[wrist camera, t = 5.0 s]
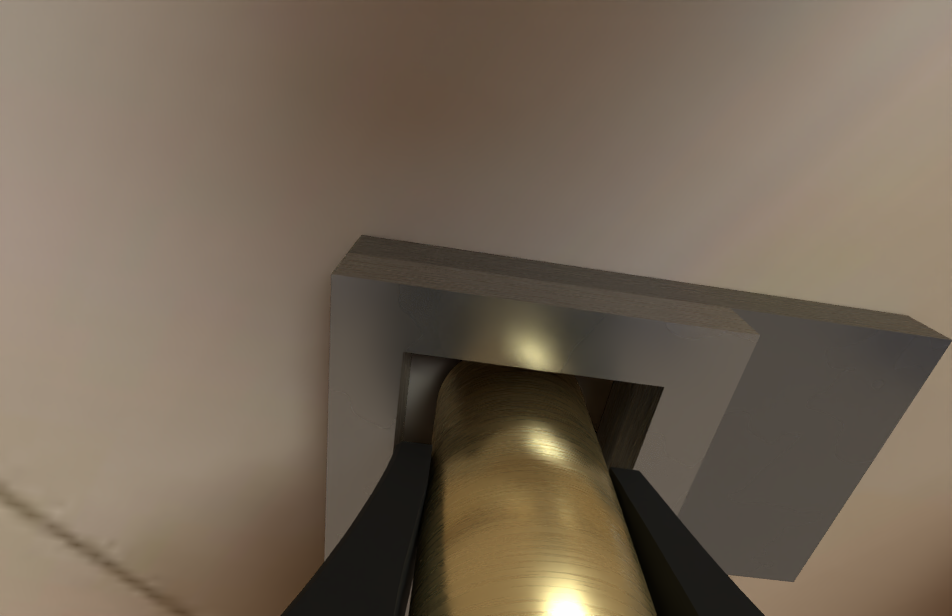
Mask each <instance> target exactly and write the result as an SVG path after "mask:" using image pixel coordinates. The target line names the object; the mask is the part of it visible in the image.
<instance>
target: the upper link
mask: <svg viewBox="0 0 952 616" xmlns="http://www.w3.org/2000/svg"><path fill="white" fill-rule="evenodd" d="M759 337H760V335H759V334H758V333H757V332H756V331H755V330H754V329H753V328H752V327H751V326H750V325H748V324H747V323H746V322H745V321H744V320H743V319H742V318H741V317H740V316H739V315H737V314H736V313H735V312H734V311H733V310H732V309H731V308H727V307H720V306H713V305H706V304H699V303H693V302H686V301H679V300H672V299H665V298H658V297H651V296H644V295H637V294H631V293H624V292H617V291H610V290H603V289H596V288H589V287H582V286H576V285H569V284H562V283H555V282H548V281H541V280H534V279H527V278H520V277H514V276H507V275H500V274H493V273H486V272H479V271H472V270H465V269H458V268H452V267H445V266H438V265H431V264H424V263H417V262H410V261H403V260H396V259H390V258H383V257H376V256H369V255H362V254H355V253H347V255H346V256H345V257H344V259H343V260H342V261H341V263H340V264H339V265H338V266H337V268H336V269H335V270H334V272H333V273H332V274H331V314H330V354H329V394H328V435H327V475H326V516H325V556H324V562H325V560H326V559H327V557H328V556H329V555H330V553H331V552H332V551H333V549H334V548H335V547H336V545H337V544H338V543H339V541H340V540H341V539H342V537H343V536H344V534H345V533H346V532H347V530H348V529H349V527H350V526H351V524H352V523H353V521H354V520H355V518H356V517H357V515H358V514H359V512H360V511H361V509H362V508H363V506H364V505H365V503H366V501H367V500H368V498H369V497H370V495H371V494H372V492H373V490H374V489H375V487H376V485H377V483H378V482H379V480H380V478H381V477H382V475H383V473H384V471H385V469H386V467H387V465H388V463H389V461H390V459H391V457H392V455H393V452H394V450H395V447H396V445H397V444H399V434H400V425H401V415H402V406H403V396H404V387H405V377H406V368H407V358H408V353H415V354H423V355H430V356H437V357H445V358H452V359H460V360H467V361H475V362H482V363H489V364H497V365H504V366H512V367H519V368H527V369H534V370H541V371H549V372H556V373H564V374H571V375H579V376H586V377H593V378H601V379H608V380H616V381H623V382H631V383H636V385H635V388H634V391H633V394H632V397H631V399H630V402H629V405H628V408H627V411H626V414H625V416H624V419H623V422H622V425H621V428H620V431H619V434H618V436H617V439H616V442H615V445H614V448H613V451H612V453H611V456H610V459H609V462H608V465H607V469H608V471H609V468H610V467H615V468H623V469H631V470H639V471H640V472H641V473H642V475H643V476H644V477H645V478H646V479H647V480H648V482H649V483H650V484H651V485H652V486H653V488H654V489H655V490H656V491H657V492H658V494H659V495H660V496H661V497H662V498H663V500H664V501H665V502H666V503H667V505H668V506H669V507H670V508H671V509H672V511H673V512H674V513H675V514H676V516H677V515H678V513H679V511H680V509H681V507H682V504H683V502H684V500H685V498H686V496H687V494H688V491H689V489H690V487H691V485H692V483H693V481H694V478H695V476H696V474H697V472H698V470H699V467H700V465H701V463H702V461H703V459H704V457H705V454H706V452H707V450H708V448H709V446H710V444H711V441H712V439H713V437H714V435H715V433H716V430H717V428H718V426H719V424H720V422H721V420H722V417H723V415H724V413H725V411H726V409H727V407H728V404H729V402H730V400H731V398H732V396H733V393H734V391H735V389H736V387H737V385H738V383H739V380H740V378H741V376H742V374H743V372H744V370H745V367H746V365H747V363H748V361H749V359H750V357H751V354H752V352H753V350H754V348H755V346H756V343H757V341H758V339H759ZM412 583H413V581H412ZM411 591H412V586H411V590H410V595H409V599H408V604H407V608H406V613H405V616H408V613H409V606H410V598H411Z"/></svg>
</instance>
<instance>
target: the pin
mask: <svg viewBox="0 0 952 616" xmlns="http://www.w3.org/2000/svg"><path fill="white" fill-rule="evenodd" d="M431 445H433V446H432V454H431V462H430V470H429V477H428V484H427V491H426V498H425V502H424V508H423V513H422V518H421V524H420V532H419V539H418V546H417V554H416V561H415V569H414V576H413V583H412V591H411V598H410V606H409V613H408V616H657V613H656V611H655V608H654V605H653V602H652V599H651V596H650V593H649V590H648V587H647V584H646V581H645V578H644V575H643V572H642V569H641V566H640V563H639V560H638V557H637V554H636V551H635V549H634V546H633V543H632V540H631V537H630V534H629V531H628V528H627V525H626V522H625V519H624V516H623V513H622V510H621V507H620V504H619V501H618V498H617V495H616V492H615V490H614V487H613V484H612V481H611V478H610V475H609V472H608V469H607V466H606V463H605V460H604V457H603V454H602V451H601V448H600V445H599V442H598V439H597V436H596V433H595V430H594V428H593V425H592V422H591V419H590V416H589V413H588V410H587V407H586V404H585V401H584V398H583V395H582V392H581V389H580V386H579V384H578V382H577V380H576V378H575V376H574V375H571V374H564V373H556V372H549V371H541V370H534V369H527V368H519V367H512V366H504V365H497V364H489V363H482V362H475V361H467V360H462V361H461V362H459V363H458V364H457V365H456V366H455V367H454V368H453V369H452V370H451V371H450V372H449V374H448V375H447V376H446V378H445V380H444V381H443V383H442V385H441V388H440V390H439V394H438V398H437V405H436V413H435V420H434V428H433V435H432V442H431Z"/></svg>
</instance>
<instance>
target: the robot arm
mask: <svg viewBox="0 0 952 616" xmlns="http://www.w3.org/2000/svg"><path fill="white" fill-rule="evenodd" d="M432 446H433V445H429V444H421V443H413V442H405V441H402V442H400V443H399V444H397V445H396V447H395V450H394V452H393V455H392V457H391V459H390V461H389V463H388V465H387V467H386V469H385V471H384V473H383V475H382V477H381V478H380V480H379V482H378V483H377V485H376V487H375V489H374V490H373V492H372V494H371V495H370V497H369V498H368V500H367V501H366V503H365V505H364V506H363V508H362V509H361V511H360V512H359V514H358V515H357V517H356V518H355V520H354V521H353V523H352V524H351V526H350V527H349V529H348V530H347V532H346V533H345V534H344V536H343V537H342V539H341V540H340V541H339V543H338V544H337V545H336V547H335V548H334V549H333V551H332V552H331V553H330V555H329V556H328V557H327V559H326V560H325V562H324V563H323V564H322V566H321V567H320V568H319V570H318V571H317V572H316V573H315V575H314V576H313V577H312V578H311V580H310V581H309V582H308V583H307V585H306V586H305V587H304V588H303V590H302V591H301V592H300V593H299V594H298V596H297V597H296V598H295V599H294V600H293V602H292V603H291V604H290V605H289V606H288V608H287V609H286V610H285V611H284V612H283V613H282V615H281V616H405V613H406V608H407V604H408V599H409V595H410V590H411V586H412V581H413V576H414V569H415V561H416V554H417V546H418V539H419V532H420V524H421V518H422V513H423V508H424V502H425V498H426V491H427V484H428V477H429V470H430V462H431V454H432ZM608 472H609V475H610V478H611V481H612V484H613V487H614V490H615V492H616V495H617V498H618V501H619V504H620V507H621V510H622V513H623V516H624V519H625V522H626V525H627V528H628V531H629V534H630V537H631V540H632V543H633V546H634V549H635V551H636V554H637V557H638V560H639V563H640V566H641V569H642V572H643V575H644V578H645V581H646V584H647V587H648V590H649V593H650V596H651V599H652V602H653V605H654V608H655V611H656V613H657V616H765V615H764V614H763V613H762V612H761V611H760V610H759V609H758V608H757V607H756V606H755V605H754V604H753V603H752V602H751V600H750V599H749V598H748V597H747V596H746V595H745V594H744V593H743V592H742V591H741V590H740V589H739V588H738V586H737V585H736V584H735V583H734V582H733V581H732V580H731V579H730V578H729V576H728V575H727V574H726V573H725V572H724V571H723V570H722V569H721V567H720V566H719V565H718V564H717V563H716V562H715V561H714V559H713V558H712V557H711V556H710V555H709V554H708V552H707V551H706V550H705V549H704V548H703V547H702V545H701V544H700V543H699V542H698V541H697V540H696V538H695V537H694V536H693V535H692V534H691V532H690V531H689V530H688V529H687V528H686V526H685V525H684V524H683V523H682V522H681V520H680V519H679V518H678V517H677V516H676V514H675V513H674V512H673V511H672V509H671V508H670V507H669V506H668V505H667V503H666V502H665V501H664V500H663V498H662V497H661V496H660V495H659V494H658V492H657V491H656V490H655V489H654V488H653V486H652V485H651V484H650V483H649V482H648V480H647V479H646V478H645V477H644V476H643V475H642V473H641V472H640V471H639V470H631V469H623V468H615V467H610V468H609V471H608Z"/></svg>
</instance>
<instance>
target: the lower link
mask: <svg viewBox="0 0 952 616" xmlns="http://www.w3.org/2000/svg"><path fill="white" fill-rule="evenodd" d="M348 253H355V254H362V255H369V256H376V257H383V258H390V259H396V260H403V261H410V262H417V263H424V264H431V265H438V266H445V267H452V268H458V269H465V270H472V271H479V272H486V273H493V274H500V275H507V276H514V277H520V278H527V279H534V280H541V281H548V282H555V283H562V284H569V285H576V286H582V287H589V288H596V289H603V290H610V291H617V292H624V293H631V294H637V295H644V296H651V297H658V298H665V299H672V300H679V301H686V302H693V303H699V304H706V305H713V306H720V307H727V308H731V309H732V310H733V311H734V312H735V313H736V314H737V315H739V316H740V317H741V318H742V319H743V320H744V321H745V322H746V323H747V324H748V325H750V326H751V327H752V328H753V329H754V330H755V331H756V332H757V333H758V334H759V335H760V337H759V339H758V341H757V343H756V346H755V348H754V350H753V352H752V354H751V357H750V359H749V361H748V363H747V365H746V367H745V370H744V372H743V374H742V376H741V378H740V380H739V383H738V385H737V387H736V389H735V391H734V393H733V396H732V398H731V400H730V402H729V404H728V407H727V409H726V411H725V413H724V415H723V417H722V420H721V422H720V424H719V426H718V428H717V430H716V433H715V435H714V437H713V439H712V441H711V444H710V446H709V448H708V450H707V452H706V454H705V457H704V459H703V461H702V463H701V465H700V467H699V470H698V472H697V474H696V476H695V478H694V481H693V483H692V485H691V487H690V489H689V491H688V494H687V496H686V498H685V500H684V502H683V504H682V507H681V509H680V511H679V513H678V515H677V517H678V518H679V519H680V520H681V522H682V523H683V524H684V525H685V526H686V528H687V529H688V530H689V531H690V532H691V534H692V535H693V536H694V537H695V538H696V540H697V541H698V542H699V543H700V544H701V545H702V547H703V548H704V549H705V550H706V551H707V552H708V554H709V555H710V556H711V557H712V558H713V559H714V561H715V562H716V563H717V564H718V565H719V566H720V567H721V569H722V570H723V571H724V572H725V573H726V574H727V575H736V576H744V577H753V578H762V579H771V580H780V581H789V582H794V580H795V579H796V577H797V576H798V574H799V573H800V571H801V570H802V568H803V567H804V565H805V564H806V562H807V561H808V559H809V558H810V556H811V555H812V553H813V552H814V550H815V548H816V547H817V545H818V544H819V542H820V541H821V539H822V538H823V536H824V535H825V533H826V532H827V530H828V529H829V527H830V526H831V524H832V523H833V521H834V520H835V518H836V517H837V515H838V513H839V512H840V510H841V509H842V507H843V506H844V504H845V503H846V501H847V500H848V498H849V497H850V495H851V494H852V492H853V491H854V489H855V488H856V486H857V485H858V483H859V482H860V480H861V478H862V477H863V475H864V474H865V472H866V471H867V469H868V468H869V466H870V465H871V463H872V462H873V460H874V459H875V457H876V456H877V454H878V453H879V451H880V450H881V448H882V447H883V445H884V443H885V442H886V440H887V439H888V437H889V436H890V434H891V433H892V431H893V430H894V428H895V427H896V425H897V424H898V422H899V421H900V419H901V418H902V416H903V415H904V413H905V411H906V410H907V408H908V407H909V405H910V404H911V402H912V401H913V399H914V398H915V396H916V395H917V393H918V392H919V390H920V389H921V387H922V386H923V384H924V383H925V381H926V380H927V378H928V376H929V375H930V373H931V372H932V370H933V369H934V367H935V366H936V364H937V363H938V361H939V360H940V358H941V357H942V355H943V354H944V352H945V351H946V349H947V348H948V346H949V345H950V343H951V341H952V340H951V339H949V338H947V337H946V336H944V335H942V334H940V333H938V332H936V331H935V330H933V329H931V328H929V327H927V326H926V325H924V324H922V323H920V322H918V321H916V320H915V319H913V318H911V317H909V316H906V315H900V314H893V313H886V312H879V311H872V310H866V309H859V308H852V307H845V306H839V305H832V304H825V303H818V302H811V301H805V300H798V299H791V298H784V297H778V296H771V295H764V294H757V293H750V292H744V291H737V290H730V289H723V288H717V287H710V286H703V285H696V284H689V283H683V282H676V281H669V280H662V279H655V278H649V277H642V276H635V275H628V274H622V273H615V272H608V271H601V270H594V269H588V268H581V267H574V266H567V265H561V264H554V263H547V262H540V261H533V260H527V259H520V258H513V257H506V256H499V255H493V254H486V253H479V252H472V251H466V250H459V249H452V248H445V247H438V246H432V245H425V244H418V243H411V242H405V241H398V240H391V239H384V238H377V237H371V236H364V235H361V237H360V238H359V239H358V240H357V242H356V243H355V244H354V246H353V247H352V248H351V250H350V251H349V252H348ZM411 358H412V353H408V358H407V368H406V377H405V387H404V396H403V406H402V415H401V425H400V434H399V443H400V442H402V440H403V431H404V422H405V413H406V403H407V394H408V385H409V376H410V367H411ZM635 385H636V383H631V382H623V381H616V380H614V382H613V385H612V388H611V392H610V395H609V398H608V401H607V404H606V407H605V410H604V413H603V416H602V419H601V422H600V425H599V428H598V431H597V434H596V436H597V439H598V442H599V445H600V448H601V451H602V454H603V457H604V460H605V463H606V466H607V465H608V462H609V459H610V456H611V453H612V451H613V448H614V445H615V442H616V439H617V436H618V434H619V431H620V428H621V425H622V422H623V419H624V416H625V414H626V411H627V408H628V405H629V402H630V399H631V397H632V394H633V391H634V388H635Z"/></svg>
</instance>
